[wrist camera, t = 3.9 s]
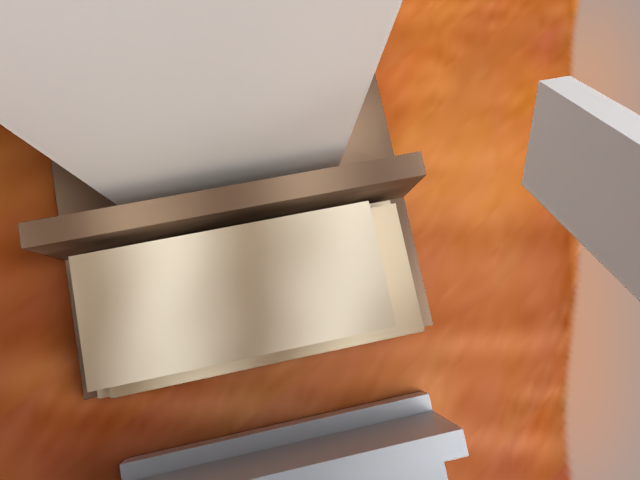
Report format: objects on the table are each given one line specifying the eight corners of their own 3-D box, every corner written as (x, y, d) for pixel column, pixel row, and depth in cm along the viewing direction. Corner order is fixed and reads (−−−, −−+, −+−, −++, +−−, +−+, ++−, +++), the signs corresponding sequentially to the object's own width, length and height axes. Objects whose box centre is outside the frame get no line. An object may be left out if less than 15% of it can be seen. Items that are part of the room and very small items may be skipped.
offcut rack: (92, 396, 24) (42, 417, 19) (51, 108, 25) (-4, 58, 21) (427, 324, 25) (462, 326, 20) (366, 59, 27) (385, 2, 22)
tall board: (125, 211, 24) (-170, 6, 8) (113, 129, 25) (-189, -209, 9) (335, 173, 25) (430, -73, 9) (319, 96, 26) (382, -262, 10)
